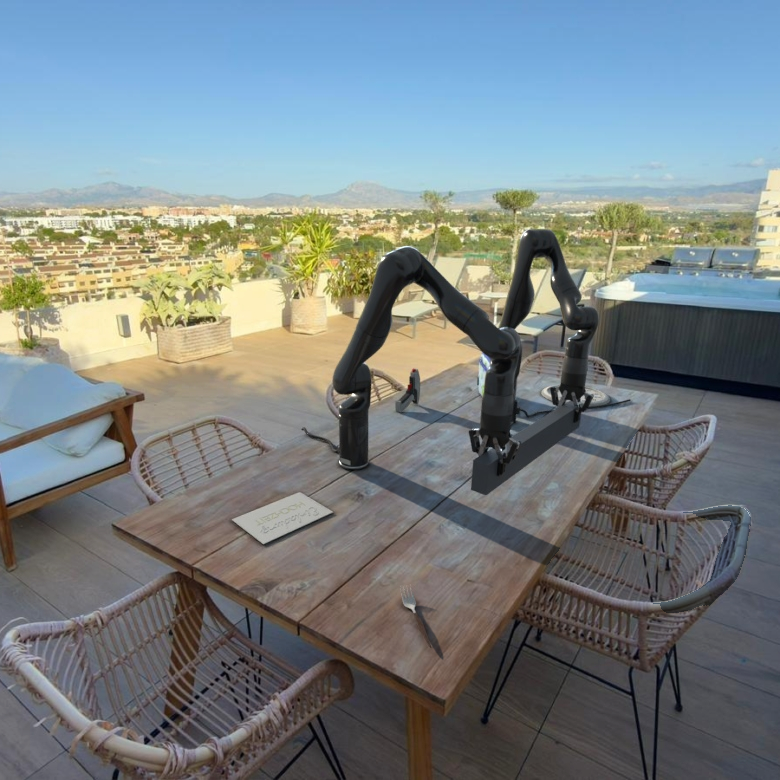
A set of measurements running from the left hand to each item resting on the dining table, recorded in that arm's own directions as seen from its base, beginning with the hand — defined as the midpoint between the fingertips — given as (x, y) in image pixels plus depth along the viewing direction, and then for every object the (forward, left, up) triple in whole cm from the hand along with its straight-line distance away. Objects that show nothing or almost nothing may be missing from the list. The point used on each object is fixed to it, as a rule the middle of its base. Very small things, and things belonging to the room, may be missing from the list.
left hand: (491, 471), depth 133 cm
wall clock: (-79, +93, -14) cm, 123 cm away
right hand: (-25, +44, 0) cm, 51 cm away
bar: (-13, +22, -4) cm, 26 cm away
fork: (+28, -32, -14) cm, 45 cm away
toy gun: (-88, +13, -14) cm, 90 cm away
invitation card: (-18, -51, -14) cm, 55 cm away
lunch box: (-87, +53, -14) cm, 103 cm away
